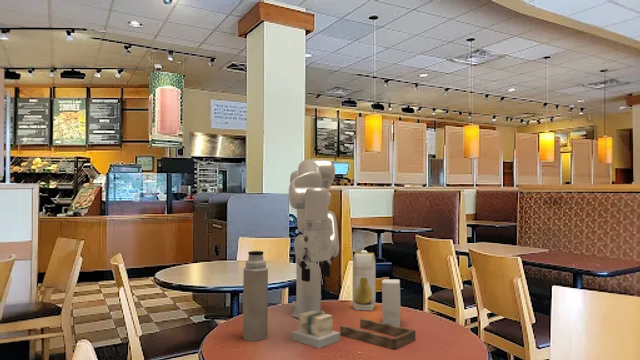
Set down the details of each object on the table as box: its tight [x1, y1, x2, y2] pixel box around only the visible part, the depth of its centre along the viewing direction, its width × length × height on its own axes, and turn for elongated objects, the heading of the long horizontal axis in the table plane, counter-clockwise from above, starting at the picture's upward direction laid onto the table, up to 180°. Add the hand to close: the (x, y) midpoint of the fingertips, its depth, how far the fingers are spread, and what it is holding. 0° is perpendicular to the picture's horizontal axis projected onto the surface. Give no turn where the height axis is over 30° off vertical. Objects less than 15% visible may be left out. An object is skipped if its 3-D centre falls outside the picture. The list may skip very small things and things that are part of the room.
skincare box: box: [381, 278, 401, 327], centre depth 161 cm, size 8×7×16 cm
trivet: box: [291, 329, 341, 349], centre depth 142 cm, size 12×10×2 cm
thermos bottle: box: [242, 250, 269, 342], centre depth 146 cm, size 8×8×28 cm
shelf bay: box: [339, 318, 416, 350], centre depth 145 cm, size 21×12×3 cm, turn 48°
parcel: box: [298, 311, 333, 337], centre depth 143 cm, size 9×6×6 cm
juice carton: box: [352, 249, 377, 312], centre depth 183 cm, size 9×8×24 cm
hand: (316, 278), depth 143 cm, fingers open, 9 cm apart
